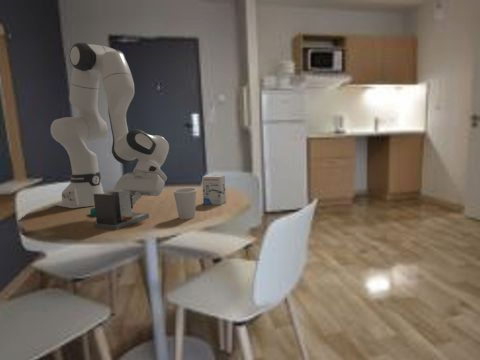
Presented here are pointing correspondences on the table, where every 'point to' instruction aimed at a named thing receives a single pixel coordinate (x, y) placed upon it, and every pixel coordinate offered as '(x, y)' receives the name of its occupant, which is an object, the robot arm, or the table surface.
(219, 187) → the ink box
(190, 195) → the dixie cup
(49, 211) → the table surface
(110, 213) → the gauge bed
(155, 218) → the table surface
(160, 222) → the table surface
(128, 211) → the tall grey rectangular prism
